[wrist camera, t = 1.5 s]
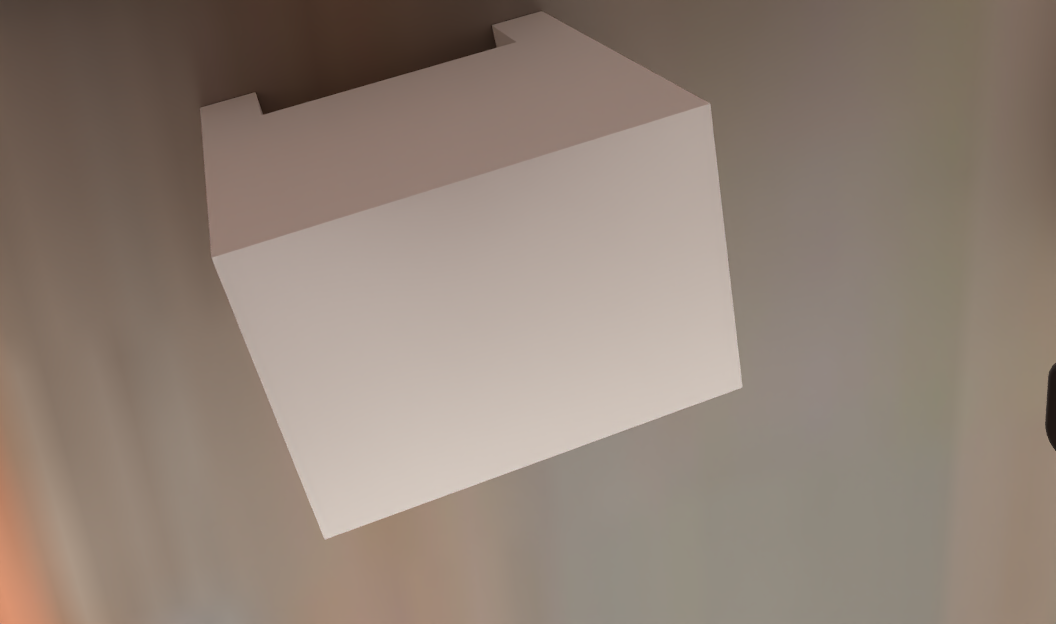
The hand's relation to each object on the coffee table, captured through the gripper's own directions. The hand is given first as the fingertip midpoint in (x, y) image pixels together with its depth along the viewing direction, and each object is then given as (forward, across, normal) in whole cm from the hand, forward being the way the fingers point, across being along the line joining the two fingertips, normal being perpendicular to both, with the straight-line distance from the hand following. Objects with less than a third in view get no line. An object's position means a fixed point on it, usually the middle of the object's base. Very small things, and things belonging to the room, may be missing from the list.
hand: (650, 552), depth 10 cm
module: (+12, 0, 0) cm, 12 cm away
